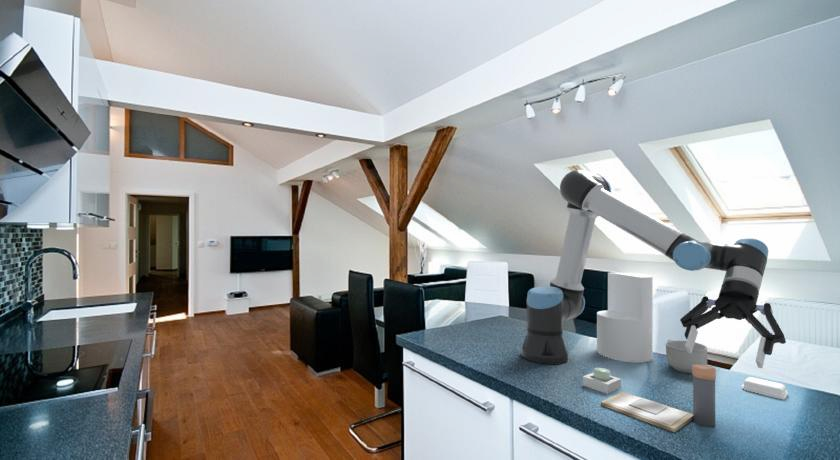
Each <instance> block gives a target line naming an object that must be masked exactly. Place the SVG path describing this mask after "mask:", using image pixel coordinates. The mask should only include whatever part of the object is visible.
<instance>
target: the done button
mask: <svg viewBox="0 0 840 460" xmlns="http://www.w3.org/2000/svg"><path fill="white" fill-rule="evenodd" d="M593 372H594V378H595V379H598V380H601V381H604V382H607V381H609V380H610V376H611V370H609V369H607V368H603V367H595V368H593Z"/></svg>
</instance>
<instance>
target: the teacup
mask: <svg viewBox="0 0 840 460" xmlns="http://www.w3.org/2000/svg"><path fill="white" fill-rule="evenodd" d="M686 341H687V340H675V339H673V338H672V339H668V340H667V341H666V342H665V343H664V344H665V345H664V346H665V353H666V360H667V363H668V364H669V365H670V366H671V367H672V368H673V369H674V370H676V371H678V372H680V373H686V374H692V365H695V364H699V365H706V366H708V347H707V346H706V345H705V344H702V343H699V342H696V341H695V343H694V347H693V350H692V353H688V352H687V350H686V348H685V344H686Z"/></svg>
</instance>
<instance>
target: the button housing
mask: <svg viewBox="0 0 840 460" xmlns="http://www.w3.org/2000/svg"><path fill="white" fill-rule="evenodd" d="M582 386H583V387H587V388H589V389H593V390H595V391H598V392H601V393H603V394H606V395H609V394H611V393H614V392H615V391H617V390H620V389H622V378H619V377H616V376H612V375H610V380H609V381H607V382H604V381H601V380H598V379H595V378H594V371H592V372H591V373H588V374H586V375H583V376H582Z"/></svg>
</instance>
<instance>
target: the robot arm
mask: <svg viewBox="0 0 840 460" xmlns="http://www.w3.org/2000/svg"><path fill="white" fill-rule="evenodd" d="M559 192H560V195H561V196H562V198H563V199H564V200H565V201H566V202H567V205H566V209H567V211H568V212H569V217H568V220H567V221H568V222H567V225H566V231H565V235H564V239H563V245H562V249H561V253H560V258H559V263H558V267H557V272H556V276H555V277H554V278H552V279H551V280H550V282H549V285H547V286H546V285H545V286H536V287H532V288H530V289H529V290H528V291H527V296H526V335H525V338H524V341H523V343H522V347H521V356H522V358H523V359H525V360H528V361H530V362H535V363H539V364H547V365H553V364H554V365H559V364H564V363H566V362H568V361H569V351H568V349H567V346H566V343H565V339H564V335H563V333H564V332H563V329H564V327H563V326H564V325H563V324H564V322H567V321H571V320H574V319H576V318H577V317H578V316H580V315H581V314H582V313H583V311H584V309H585V305H586V299H585V296H584V290H585V287H584V286H583V284H582V279H583V274H584V270H585V266H586V262H587V258H588V257H587V256H588V251H589V249H590V245H591V244H590V243H591V239H592V236H593V232H594V231H593V230H594V227H595V223H596V219H597V218H598V217H600V218H602V219H604V220H605V221H607V222H609V223H611V224H612V225H613V226H615V227H617V228H619V229H621V230H622V231H624V232H626V233H627V234H629V235H631V236H633V237H634V238H636V239H638V240H639V241H641V242H642V243H644V244H646V245H648V246H649V247H650V248H652V249H654V250H656V251H657V252H659V253H661V254H662V255H664V256H665V257H667V258H669V259H670V260H672V261H674V263H675V264H676V265H677V266H678V267H679V268H681V269H684V270H686V271H692V272H695V271H700V270H702V269H709V270H710V269H711V270H716V271H717V270H718V271H722V272H725V274H724V277H723V280H722V284H721V287H720V290H719V294H718V297H717V298H716V299H710V298H709V297H708V296H703V297H702V298H701V301H700V302H699V303H698V304H696V305H695V306H694V307H693V308H692V309H690V310H689V311H688V312H687V313H686V314H685V315H683V316H682V317H681V318H680V319H679V321H680V323H681V325H682V327H683V328H686V329H685V330H684V331H685V332H684V337H685V339H686V340H685V341H686V344H685V348H686V350H687V352H688V353H692V350H693V347H694V343H695V342H696V339H697V337H698V334H699V333H698V332H699V331H698V329H700V328H702V327H704V326H706V325H708V324H709V323H711V322H714V321H716V320H720V319H723V318H725V319H734V320H738V321H742V320H746V322H747V323H748V324H750V325H751V327H753V328H754V329H755V330H756V331H757V332H758V335H760V339H759V344H758V347H757V353H756V357H755V362H756V366H757V368H759V369H763V367H764V363H765V357H766V355H767V356H771V355H772V354H773V350H774V345H775V344H783V345H784V344H786V343H787V341H786V337H785V334H784V332H783V331H782V329H781V327H780V325H779V324H778V321H777V320H776V319H775V316H774V315H773V309H772V306H771V304H770V302H765V303H763V304H757V303H758V299H759V296H760V295H759V294H760V293H759V292H760V290H761V287H762V283H763V277H764V274H765V270H766V267H767V263H768V256H769V248H768V246H767V245H766V243H764V242H763V241H762V240H760V239H756V238H751V237H746V238H739V239H738V240H736V241H735V242H734V244H727V243H726V244H724V243H717V242H712V241H711V242H710V241H703V240H697V239H695V238H694V237H692V236H690V235H687V234H685V233H684V232H682V231H680V230H678V229H676V228H675V227H673V226H671V225H670V224H668V223H665V222H664V221H663V220H660V219H659V218H656V217H654V216H653V215H651V214H649V213H648V212H646V211H644V210H642V209H640V208H638V207H636V206H635V205H633V204H631V203H629V202H627V201H626V200H624V199H622V198H621V197H619V196H617V195H615V194H613V193H612V187H611V184H610V182H609V181H608V180H607V178H605V177H604V176H602V175H601V174H599V173H594V172H591V171H587V170H584V169H575V170H572V171H570V172H568V173H567V174H565V175H564V177H563V178H562V179H561V181H560V183H559ZM712 306H713V307H712ZM708 309H710V310H708ZM707 310H708V311H707ZM757 312H760V314H761V315H763V316H765V319H766V321H767V322H768V324H769V326H770V328H771V330H772V332H773V333H774V334H773V333H772V332H771V331H769V329H767V328H766V327H765V326H764V324H763V323H762V322H760V320H759V319H758V318H757V317H756V316H755V315H754V314H756V313H757Z"/></svg>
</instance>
